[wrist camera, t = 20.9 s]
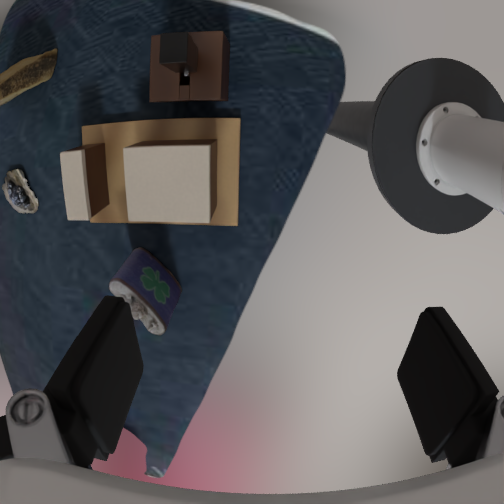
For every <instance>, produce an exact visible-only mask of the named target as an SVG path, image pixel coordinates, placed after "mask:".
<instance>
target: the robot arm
mask: <svg viewBox="0 0 504 504" xmlns="http://www.w3.org/2000/svg"><path fill="white" fill-rule="evenodd" d="M443 109H444V111H443ZM422 140H423V143H422ZM416 154H417V160H418V164H419V167H420V170H421V172H422V173H423V175H424V177H425V179H426V180H427V181H428V182H429V184H431V185H432V186H433V187H434V188H435V189H437V190H439V191H440V192H442V193H445V194H447V195H454V196H455V195H462V194H465V193H468V194H470V195H472V196H473V197H475V198H477V199H479V200H480V201H482V202H484V203H486V204H487V205H489V206H491V207H492V208H494V209H496V210H497V211H499V212H501V213H502V214H504V122H501V121H496V120H490V119H485V118H481V117H480V115H479V114H478V113H477V112H476V111H475V110H473V109H472V108H471V107H469V106H467V105H465V104H462V103H457V102H447V103H442V104H440V105H438V106H436V107H434V108H433V109H432V110H430V111H429V112H428V114H427V115H426V116H425V117H424V119H423V121H422V123H421V125H420V128H419V131H418V134H417V140H416ZM142 373H143V361H142V357H141V353H140V348H139V344H138V340H137V336H136V331H135V327H134V322H133V317H132V312H131V307H130V304H129V303H128V302H125V300H124V298H123V297H116V296H105V297H104V298H103V300H102V301H101V302H100V304H99V305H98V307H97V308H96V310H95V311H94V313H93V314H92V316H91V317H90V318H89V320H88V321H87V323H86V324H85V326H84V327H83V329H82V330H81V332H80V334H79V335H78V336H77V337H76V339H75V340H74V342H73V343H72V345H71V347H70V348H69V350H68V351H67V353H66V354H65V356H64V358H63V359H62V361H61V362H60V364H59V366H58V367H57V369H56V371H55V372H54V374H53V375H52V377H51V379H50V380H49V382H48V384H47V386H46V387H45V389H44V391H43V392H42V391H40V390H37V389H24V390H22V391H19V392H17V393H16V394H15V395H13V396H12V397H11V399H10V400H9V401H8V404H7V406H6V415H4V416H1V417H0V504H504V396H502V397H501V398H500V399H499V400H497V398H496V395H497V394H498V392H499V390H498V389H497V387H496V385H495V384H494V382H493V381H492V379H491V377H490V376H489V374H488V372H487V371H486V369H485V367H484V366H483V364H482V363H481V361H480V360H479V358H478V357H477V355H476V354H475V352H474V350H473V349H472V347H471V346H470V345H469V343H468V342H467V340H466V339H465V337H464V336H463V334H462V333H461V331H460V330H459V328H458V327H457V326H456V324H455V323H454V322H453V320H452V318H451V317H450V316H449V314H448V313H447V312H446V310H445V309H444V308H443V307H428V308H426V309H425V311H424V312H422V313H421V314H420V316H419V319H418V321H417V324H416V327H415V329H414V332H413V334H412V337H411V340H410V342H409V345H408V347H407V349H406V352H405V354H404V357H403V359H402V361H401V364H400V366H399V368H398V372H397V377H398V381H399V383H400V386H401V388H402V391H403V394H404V396H405V399H406V401H407V404H408V407H409V409H410V412H411V415H412V417H413V420H414V423H415V426H416V428H417V431H418V434H419V437H420V440H421V443H422V446H423V449H424V452H425V454H426V455H428V456H430V459H431V462H432V463H433V462H437V461H441V460H445V459H446V458H447V460H448V465H447V468H446V470H444V471H440V472H436V473H432V474H429V475H425V476H421V477H417V478H412V479H408V480H403V481H398V482H394V483H388V484H382V485H377V486H370V487H363V488H357V489H349V490H340V491H330V492H319V493H318V492H317V493H301V494H241V493H225V492H212V491H201V490H193V489H184V488H178V487H171V486H165V485H159V484H153V483H148V482H142V481H138V480H133V479H128V478H123V477H119V476H114V475H110V474H106V473H102V472H98V471H94V470H93V469H92V467H91V464H92V462H93V459H94V458H97V459H100V460H104V461H107V459H108V455H109V453H110V454H113V453H114V451H115V449H116V446H117V443H118V440H119V437H120V435H121V431H122V429H123V426H124V423H125V420H126V417H127V414H128V412H129V409H130V406H131V403H132V400H133V398H134V395H135V392H136V389H137V387H138V384H139V381H140V379H141V376H142Z"/></svg>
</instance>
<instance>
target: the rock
mask: <svg viewBox="0 0 504 504" xmlns="http://www.w3.org/2000/svg"><path fill="white" fill-rule="evenodd" d="M56 61H57V49H53V50H52V51H47V52H45V53H44V54H42V55H38V56H35V57H30V58H25V59H23V60H21V61H20V62H18V63H17V64H15V65H13V66H11V67H10V68H9V69H8V70H6V71H5V72H3V73H1V74H0V106H1V105H3V104H5V103H7V102H9V101H10V100H12V99H13V98H14V97H16V96H17V95H19V94H21V93H22V92H24V91H26V90H28V89H31V88H33V87H34V86H37V85H38V84H40V83H42V82H45V81H47V80H49V79H50V78H51V77H52V74H53V71H54V67H55V65H56Z"/></svg>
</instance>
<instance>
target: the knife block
mask: <svg viewBox="0 0 504 504" xmlns="http://www.w3.org/2000/svg"><path fill="white" fill-rule="evenodd" d="M188 33H189V34H190V36H191V38H192V39H193V41H194V43H195V44H196V46H197V48H198V62H197V72H190V79H189V78H187V77H186V76H184V73H175V72H173V71H172V70H170V69H168V68H166V67H165V66H163V65H161V64H159V55H160V35H154V36H152V38H151V59H150V102H188V101H228V86H229V57H230V44H229V42H228V40H227V38H226V36H225V34H224V32H223V31H204V32H188Z"/></svg>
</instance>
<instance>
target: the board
mask: <svg viewBox="0 0 504 504" xmlns="http://www.w3.org/2000/svg"><path fill="white" fill-rule="evenodd" d="M240 125H241V118H173V119H153V120H138V121H126V122H115V123H105V124H96V125H88V126H82V141H83V145H87V144H98V143H105V154H106V169H107V182H108V193H109V203H110V204H109V205H108V206H106V207H105V208H104V209H102V210H101V211H100V212H98V213H97V214H96V215H95V216H93V217H92V218H91V219H90V221H91V222H93V223H154V224H192V225H223V226H238V204H239V162H240ZM188 139H217V207H216V209H215V212H214V214H213V216H212V219H211V221H210V223H186V222H143V221H129V220H128V210H127V199H126V187H125V174H124V157H123V148H125V147H127V146H130V145H133V144H136V143H139V142H141V141H153V140H188Z"/></svg>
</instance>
